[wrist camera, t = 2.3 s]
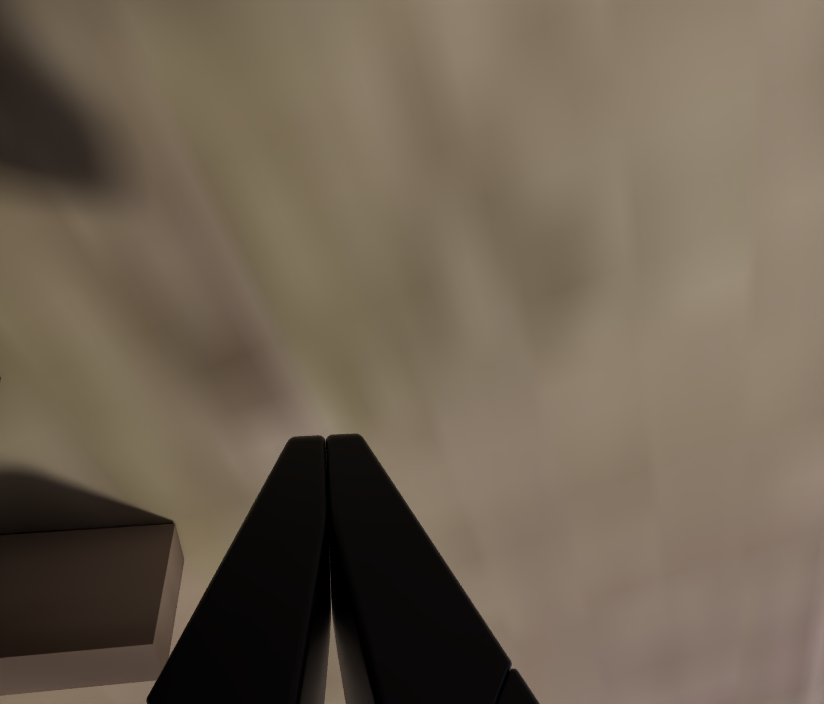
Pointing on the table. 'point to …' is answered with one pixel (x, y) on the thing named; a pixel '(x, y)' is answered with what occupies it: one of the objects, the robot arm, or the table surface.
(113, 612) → the rail
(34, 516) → the table surface
